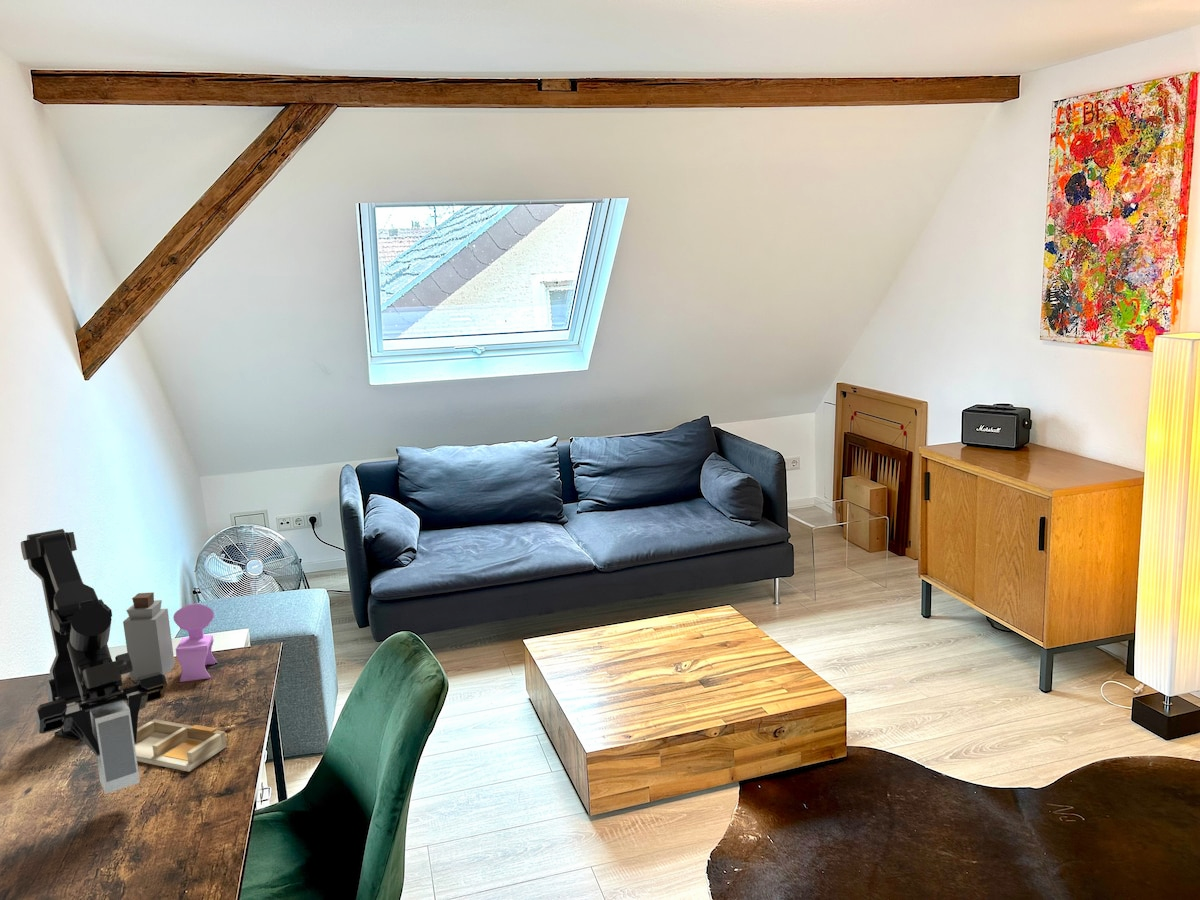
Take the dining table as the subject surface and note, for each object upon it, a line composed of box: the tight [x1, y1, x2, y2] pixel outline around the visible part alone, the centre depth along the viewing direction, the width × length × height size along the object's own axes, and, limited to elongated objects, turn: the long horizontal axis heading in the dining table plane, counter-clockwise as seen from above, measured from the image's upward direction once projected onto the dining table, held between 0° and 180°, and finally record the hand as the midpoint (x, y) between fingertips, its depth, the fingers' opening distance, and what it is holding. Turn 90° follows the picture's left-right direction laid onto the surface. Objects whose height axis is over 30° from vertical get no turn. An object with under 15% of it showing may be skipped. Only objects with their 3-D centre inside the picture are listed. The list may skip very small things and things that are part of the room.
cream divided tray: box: [135, 718, 227, 772], centre depth 166 cm, size 9×17×3 cm, turn 69°
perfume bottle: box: [122, 592, 176, 681], centre depth 200 cm, size 7×7×18 cm
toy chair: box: [173, 603, 218, 683], centre depth 199 cm, size 8×9×15 cm
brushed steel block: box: [90, 700, 141, 795], centre depth 147 cm, size 4×5×13 cm
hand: (116, 748), depth 146 cm, fingers closed on brushed steel block, 5 cm apart
